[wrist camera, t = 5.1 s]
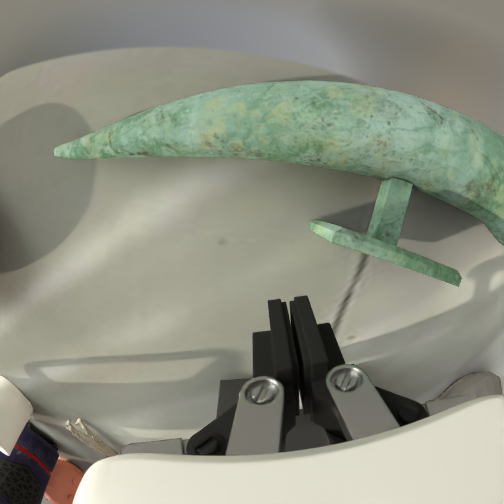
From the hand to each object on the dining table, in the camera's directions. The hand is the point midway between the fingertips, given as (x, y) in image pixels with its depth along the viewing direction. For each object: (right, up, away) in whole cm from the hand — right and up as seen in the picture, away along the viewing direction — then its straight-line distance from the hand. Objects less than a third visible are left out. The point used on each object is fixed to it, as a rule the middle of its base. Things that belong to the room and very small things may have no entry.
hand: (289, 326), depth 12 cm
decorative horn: (-12, +14, 0) cm, 19 cm away
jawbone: (-21, -25, +17) cm, 37 cm away
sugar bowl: (-38, -43, +15) cm, 59 cm away
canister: (-43, -32, +19) cm, 57 cm away
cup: (-38, -17, +13) cm, 44 cm away
